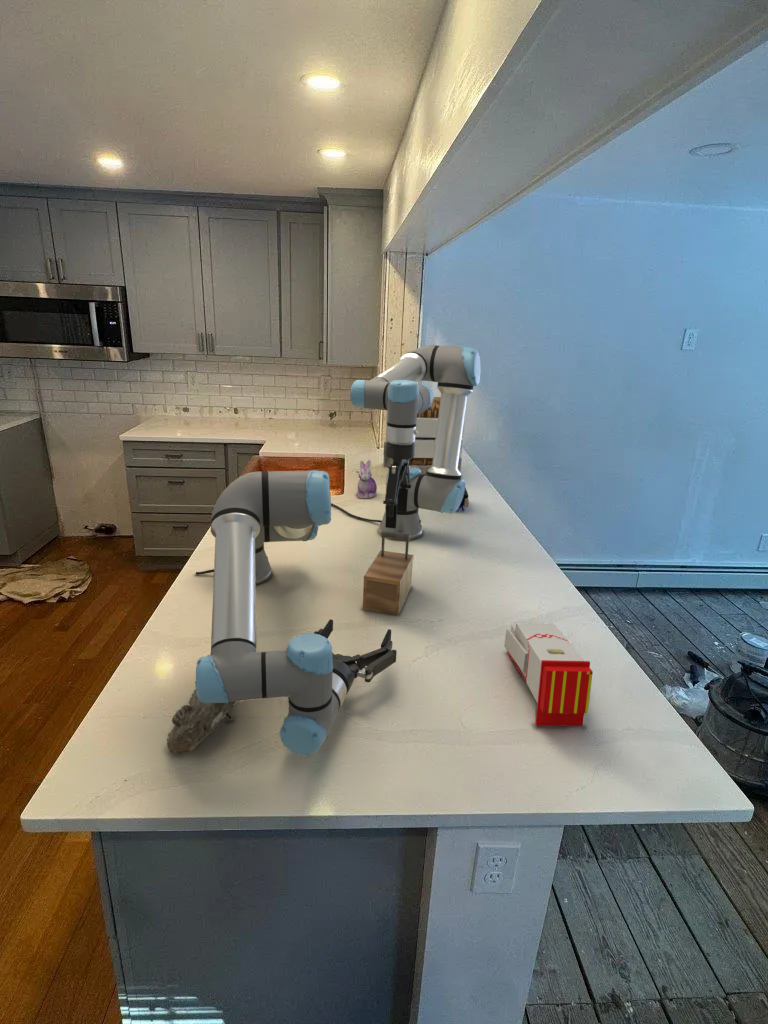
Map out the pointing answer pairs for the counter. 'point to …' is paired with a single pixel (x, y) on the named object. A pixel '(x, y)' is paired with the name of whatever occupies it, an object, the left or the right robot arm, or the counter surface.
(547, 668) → the toy
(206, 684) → the left robot arm
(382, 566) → the lid
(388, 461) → the wooden drawer cabinet
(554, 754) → the counter surface
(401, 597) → the chest
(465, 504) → the figurine character
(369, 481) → the figurine
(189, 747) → the fossil
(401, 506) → the right robot arm
